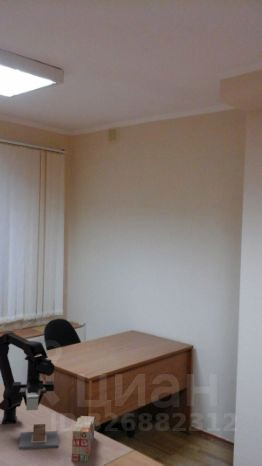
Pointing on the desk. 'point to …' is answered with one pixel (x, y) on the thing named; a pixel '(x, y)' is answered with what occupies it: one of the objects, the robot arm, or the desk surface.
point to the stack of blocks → (82, 438)
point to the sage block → (32, 402)
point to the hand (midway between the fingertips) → (32, 405)
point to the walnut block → (39, 432)
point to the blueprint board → (28, 442)
